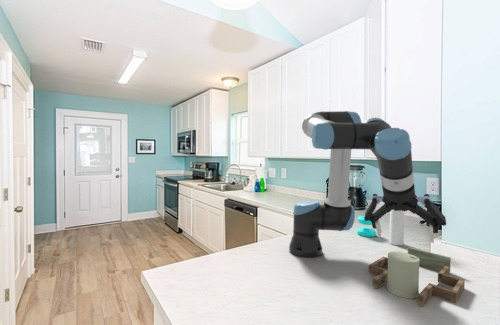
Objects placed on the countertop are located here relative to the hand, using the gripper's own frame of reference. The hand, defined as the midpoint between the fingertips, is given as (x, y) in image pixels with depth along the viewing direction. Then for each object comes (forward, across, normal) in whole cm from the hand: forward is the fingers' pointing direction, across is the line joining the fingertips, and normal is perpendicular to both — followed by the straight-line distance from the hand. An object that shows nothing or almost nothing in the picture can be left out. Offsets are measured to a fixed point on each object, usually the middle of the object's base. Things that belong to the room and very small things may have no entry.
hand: (404, 236), depth 78 cm
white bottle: (+53, -7, +38) cm, 66 cm away
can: (+21, -2, -6) cm, 22 cm away
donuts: (+55, -23, +44) cm, 74 cm away
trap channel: (+28, +1, +3) cm, 28 cm away
